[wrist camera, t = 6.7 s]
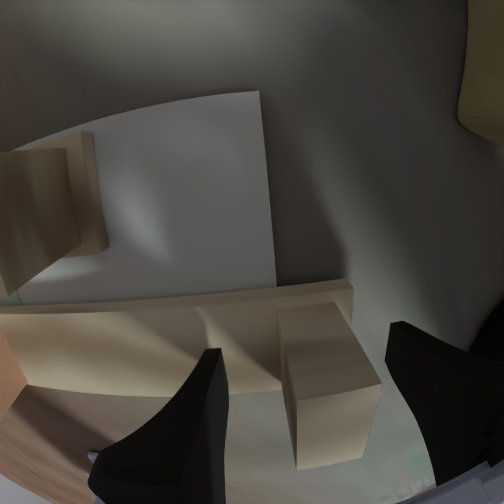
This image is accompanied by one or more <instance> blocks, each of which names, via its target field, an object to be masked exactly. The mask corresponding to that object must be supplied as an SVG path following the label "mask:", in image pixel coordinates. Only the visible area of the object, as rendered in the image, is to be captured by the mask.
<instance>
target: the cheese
mask: <svg viewBox="0 0 504 504" xmlns="http://www.w3.org/2000/svg"><path fill="white" fill-rule="evenodd" d="M467 2H468V32H467V47H466V58H465V66H464V73H463V80H462V86H461V91H460V97H459V102H458V109H457V114H458V119H459V121H460V123H461V124H462V125H463V126H464V127H465V128H467V129H469V130H470V131H472V132H473V133H475V134H477V135H479V136H481V137H483V138H485V139H487V140H489V141H491V142H493V143H496V144H498V145H500V146H502V147H504V0H467Z"/></svg>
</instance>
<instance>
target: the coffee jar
mask: <svg viewBox="0 0 504 504" xmlns="http://www.w3.org/2000/svg"><path fill="white" fill-rule="evenodd" d="M470 353H473V354H476V355H479V356H482V357H486V358H490V359H494V360H499V361H504V300H503V301H502V302H501V303H500V304H499V305H498V306H497V308H496V309H495V310H494V311H493V312H492V313H491V315H490V316H489V318H488V319H487V321H486V322H485V324H484V325H483V327H482V328H481V330H480V331H479V333H478V335H477V337H476V339H475V341H474V343H473V345H472V347H471V349H470Z"/></svg>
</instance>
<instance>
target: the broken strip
mask: <svg viewBox="0 0 504 504" xmlns="http://www.w3.org/2000/svg"><path fill="white" fill-rule="evenodd" d="M108 247H109V241H108V236H107V232H106V227H105V222H104V216H103V211H102V206H101V200H100V194H99V187H98V181H97V174H96V166H95V159H94V150H93V140H92V132H86V131H79V132H76V133H73V134H70V135H67V136H64V137H61V138H58V139H55V140H52V141H49V142H46V143H44V144H41V145H38V146H36V147H33V148H31V149H28V150H19V151H7V152H0V297H9V296H10V295H11V294H12V293H14V292H15V291H16V290H18V289H19V288H20V287H22V286H23V285H24V284H26V283H27V282H28V281H30V280H31V279H32V278H34V277H35V276H36V275H38V274H39V273H40V272H42V271H43V270H45V269H46V268H47V267H49V266H50V265H52V264H53V263H55V262H56V261H57V260H59V259H62V258H70V257H77V256H85V255H93V254H100V253H102V252H103V251H104V250H105V249H107V248H108Z"/></svg>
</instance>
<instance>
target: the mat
mask: <svg viewBox="0 0 504 504" xmlns="http://www.w3.org/2000/svg"><path fill="white" fill-rule="evenodd" d="M79 131H86V132H92V140H93V150H94V159H95V166H96V174H97V181H98V187H99V194H100V200H101V206H102V211H103V216H104V222H105V227H106V232H107V236H108V241H109V247H108V248H107V249H105V250H104V251H103V252H102V253H100V254H93V255H85V256H77V257H70V258H62V259H59V260H57V261H56V262H55V263H53V264H52V265H50V266H49V267H47V268H46V269H45V270H43V271H42V272H40V273H39V274H38V275H36V276H35V277H34V278H32V279H31V280H30V281H28V282H27V283H26V284H24V285H23V286H22V287H20V288H19V289H18V290H16V291H15V292H14V293H12V294H11V295H10V296H9V297H0V306H27V305H56V304H78V303H97V302H114V301H130V300H144V299H157V298H170V297H182V296H193V295H205V294H215V293H226V292H236V291H245V290H255V289H264V288H273V287H277V282H276V269H275V256H274V244H273V231H272V220H271V208H270V197H269V186H268V175H267V165H266V154H265V144H264V134H263V125H262V115H261V106H260V96H259V91H248V92H237V93H228V94H219V95H212V96H204V97H198V98H191V99H185V100H179V101H174V102H168V103H163V104H158V105H153V106H148V107H144V108H140V109H135V110H131V111H127V112H123V113H119V114H115V115H111V116H108V117H104V118H101V119H97V120H94V121H90V122H87V123H84V124H81V125H78V126H74V127H71V128H68V129H66V130H63V131H60V132H57V133H54V134H51V135H49V136H46V137H43V138H41V139H38V140H36V141H33V142H31V143H28V144H26V145H23V146H21V147H19V148H16V149H14V150H12V151H19V150H28V149H31V148H33V147H36V146H38V145H41V144H44V143H46V142H49V141H52V140H55V139H58V138H61V137H64V136H67V135H70V134H73V133H76V132H79Z"/></svg>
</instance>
